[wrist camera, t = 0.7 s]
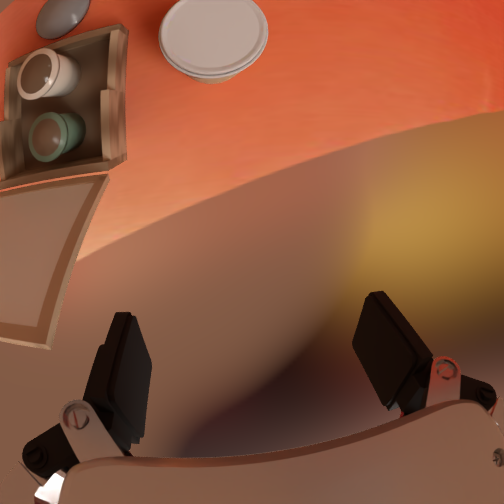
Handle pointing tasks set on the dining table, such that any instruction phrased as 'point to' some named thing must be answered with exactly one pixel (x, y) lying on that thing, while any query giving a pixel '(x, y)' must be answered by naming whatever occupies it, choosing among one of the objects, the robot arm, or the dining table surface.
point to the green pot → (56, 135)
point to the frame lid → (41, 253)
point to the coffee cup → (213, 37)
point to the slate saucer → (60, 17)
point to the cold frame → (70, 111)
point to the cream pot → (47, 75)
